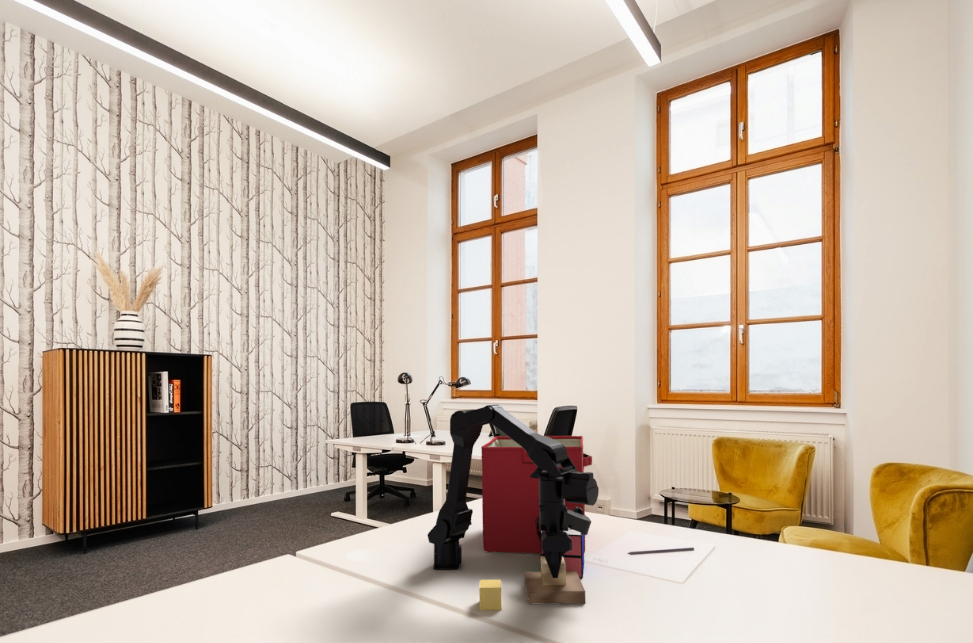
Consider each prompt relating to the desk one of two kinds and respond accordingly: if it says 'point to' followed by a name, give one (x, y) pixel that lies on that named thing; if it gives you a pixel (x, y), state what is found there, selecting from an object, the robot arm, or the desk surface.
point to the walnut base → (554, 589)
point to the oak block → (547, 576)
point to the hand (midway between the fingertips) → (553, 571)
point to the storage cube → (517, 494)
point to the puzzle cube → (574, 553)
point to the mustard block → (490, 595)
